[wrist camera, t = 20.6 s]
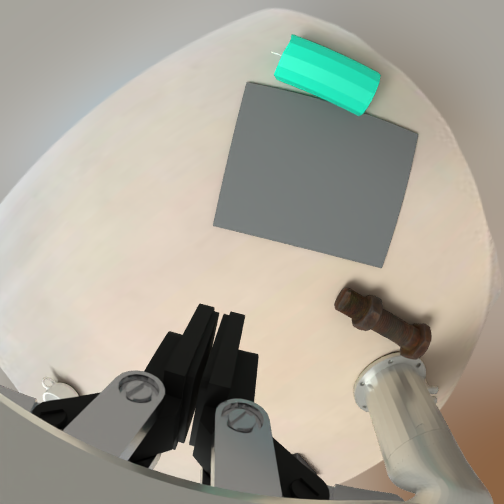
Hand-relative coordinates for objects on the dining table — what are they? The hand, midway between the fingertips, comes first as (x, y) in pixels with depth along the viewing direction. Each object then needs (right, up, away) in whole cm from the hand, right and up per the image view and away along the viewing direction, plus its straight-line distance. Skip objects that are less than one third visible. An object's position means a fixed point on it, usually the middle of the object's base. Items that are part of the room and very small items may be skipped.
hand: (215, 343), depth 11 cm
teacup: (-37, -25, +38) cm, 58 cm away
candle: (+15, +21, +18) cm, 31 cm away
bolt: (+19, -5, +29) cm, 35 cm away
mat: (+9, +12, +24) cm, 29 cm away
